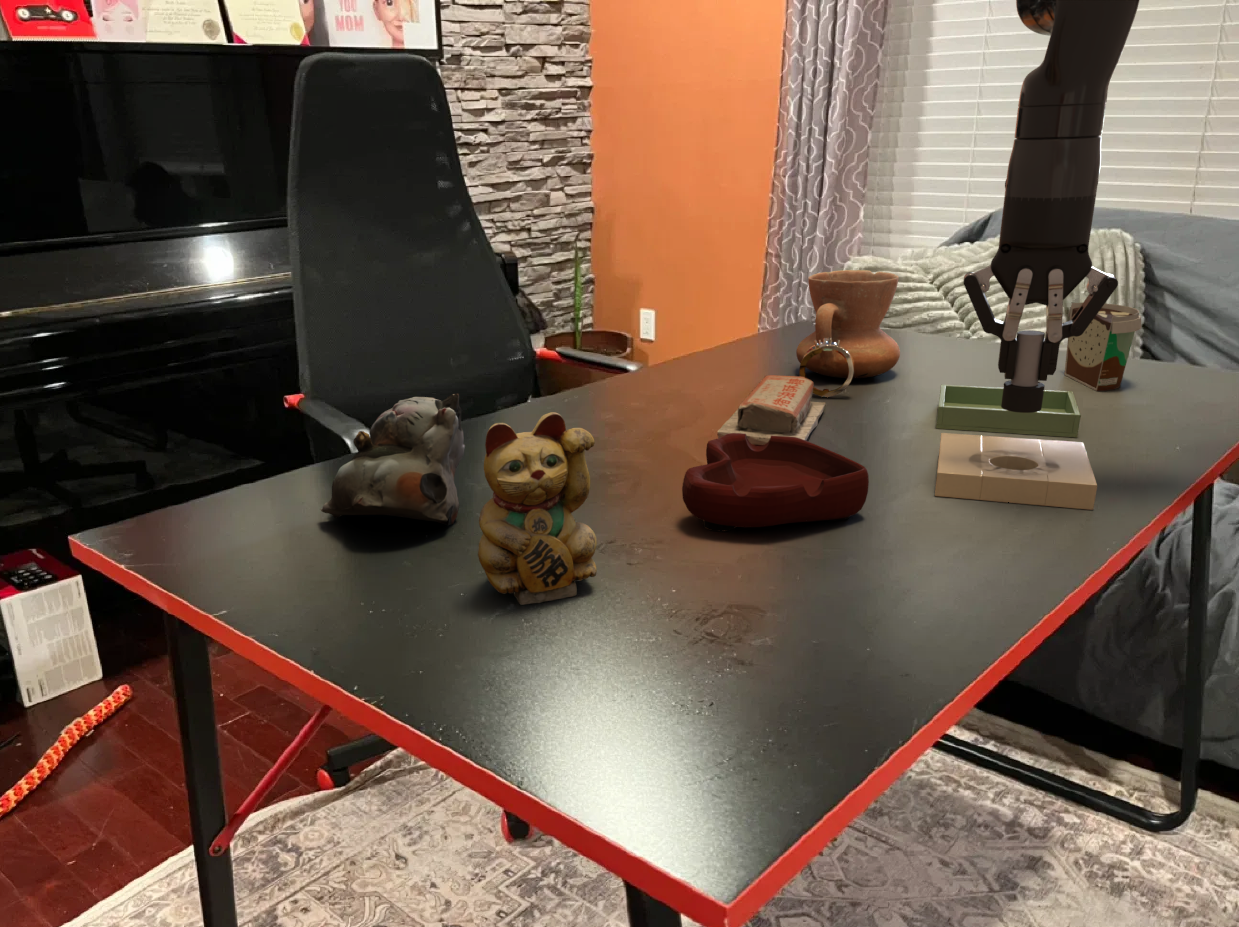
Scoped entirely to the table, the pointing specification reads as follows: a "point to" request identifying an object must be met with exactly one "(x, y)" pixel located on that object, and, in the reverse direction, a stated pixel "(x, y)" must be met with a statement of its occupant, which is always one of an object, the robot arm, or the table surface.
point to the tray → (1006, 412)
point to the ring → (828, 346)
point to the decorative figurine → (536, 511)
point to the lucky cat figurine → (404, 464)
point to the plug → (1025, 375)
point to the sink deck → (1015, 471)
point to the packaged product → (776, 410)
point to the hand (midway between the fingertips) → (1025, 377)
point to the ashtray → (772, 483)
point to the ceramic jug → (851, 322)
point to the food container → (1102, 347)
